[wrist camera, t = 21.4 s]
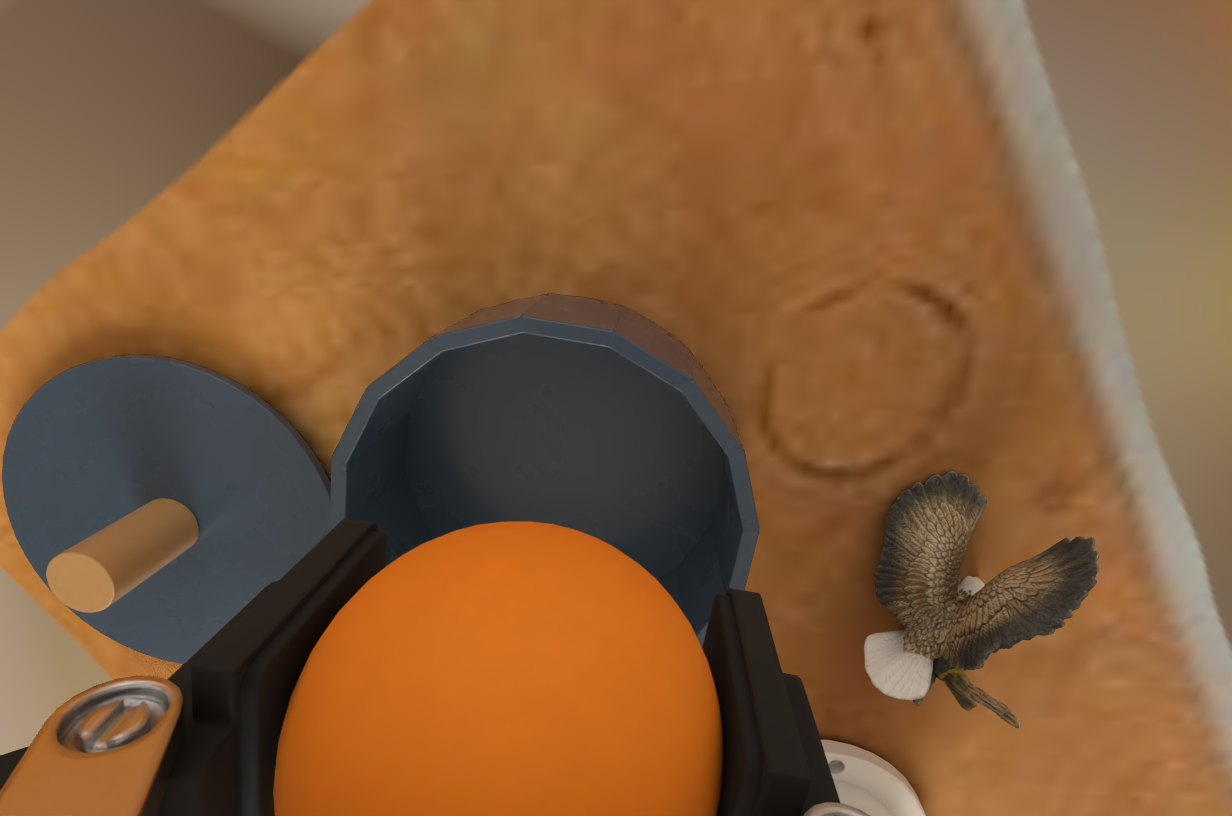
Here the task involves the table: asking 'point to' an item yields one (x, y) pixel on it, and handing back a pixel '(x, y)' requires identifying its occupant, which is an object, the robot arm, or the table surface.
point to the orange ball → (504, 688)
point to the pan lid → (159, 498)
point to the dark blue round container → (557, 443)
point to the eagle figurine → (961, 596)
